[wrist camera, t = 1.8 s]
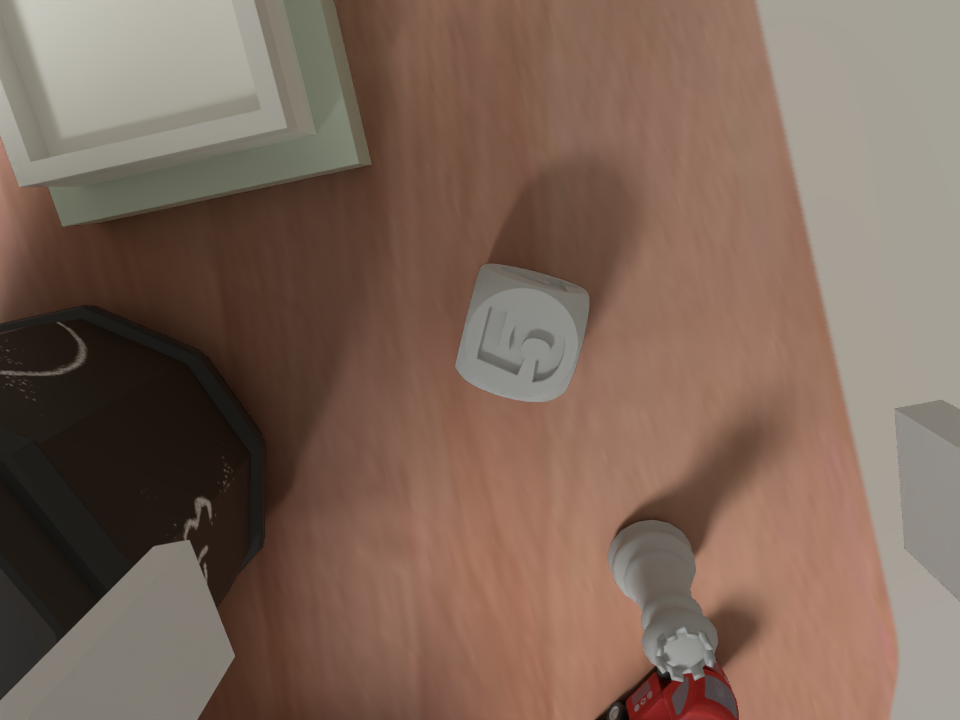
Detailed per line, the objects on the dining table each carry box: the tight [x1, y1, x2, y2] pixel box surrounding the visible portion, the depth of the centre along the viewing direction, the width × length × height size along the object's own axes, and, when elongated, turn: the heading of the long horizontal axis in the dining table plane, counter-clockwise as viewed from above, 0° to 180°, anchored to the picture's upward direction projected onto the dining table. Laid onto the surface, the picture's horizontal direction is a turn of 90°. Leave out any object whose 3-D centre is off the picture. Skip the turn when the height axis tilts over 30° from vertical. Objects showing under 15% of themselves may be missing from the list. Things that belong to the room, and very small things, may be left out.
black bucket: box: [0, 305, 266, 700], centre depth 28 cm, size 18×18×16 cm
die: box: [455, 264, 590, 402], centre depth 29 cm, size 5×5×5 cm
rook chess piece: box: [608, 520, 718, 682], centre depth 31 cm, size 4×4×8 cm
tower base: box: [0, 0, 372, 227], centre depth 26 cm, size 14×14×7 cm
